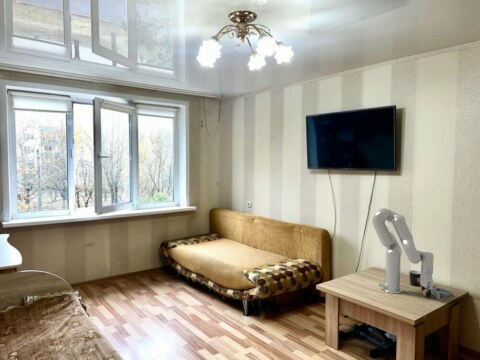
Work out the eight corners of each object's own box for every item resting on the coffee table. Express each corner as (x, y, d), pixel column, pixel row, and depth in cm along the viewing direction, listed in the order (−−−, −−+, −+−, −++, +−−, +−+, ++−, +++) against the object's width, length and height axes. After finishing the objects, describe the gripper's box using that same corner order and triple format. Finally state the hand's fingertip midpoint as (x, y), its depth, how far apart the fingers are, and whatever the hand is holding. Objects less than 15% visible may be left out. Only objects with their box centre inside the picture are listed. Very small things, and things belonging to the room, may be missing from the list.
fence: (436, 299, 235) (436, 293, 235) (427, 290, 251) (427, 285, 250) (440, 299, 235) (440, 293, 235) (431, 290, 250) (431, 285, 250)
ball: (423, 297, 238) (423, 290, 238) (420, 294, 243) (421, 287, 243) (431, 297, 237) (431, 290, 237) (428, 295, 242) (428, 288, 242)
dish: (445, 297, 238) (445, 294, 238) (431, 293, 246) (431, 290, 245) (451, 294, 244) (451, 291, 243) (437, 290, 251) (437, 287, 251)
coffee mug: (410, 286, 259) (410, 273, 258) (407, 282, 267) (407, 269, 267) (427, 287, 256) (427, 274, 256) (423, 283, 265) (424, 271, 264)
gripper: (416, 266, 248) (415, 290, 249) (426, 274, 231) (425, 299, 232) (427, 266, 247) (426, 290, 248) (438, 274, 230) (437, 300, 231)
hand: (426, 295), depth 240 cm, fingers open, 7 cm apart
